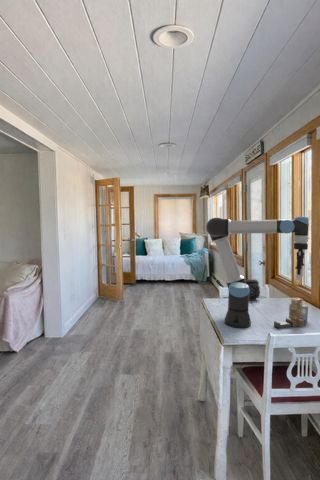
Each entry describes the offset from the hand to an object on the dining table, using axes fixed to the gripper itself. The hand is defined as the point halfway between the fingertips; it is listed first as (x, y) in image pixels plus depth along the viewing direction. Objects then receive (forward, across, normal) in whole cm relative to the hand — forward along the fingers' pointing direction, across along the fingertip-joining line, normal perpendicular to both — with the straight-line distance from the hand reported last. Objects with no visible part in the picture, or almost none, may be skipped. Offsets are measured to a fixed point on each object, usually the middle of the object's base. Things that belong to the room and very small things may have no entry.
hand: (299, 278), depth 186 cm
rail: (+27, -8, +4) cm, 28 cm away
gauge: (+21, +8, 0) cm, 22 cm away
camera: (+27, +43, +35) cm, 62 cm away
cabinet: (+27, +8, 0) cm, 28 cm away
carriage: (+27, -5, +1) cm, 28 cm away
